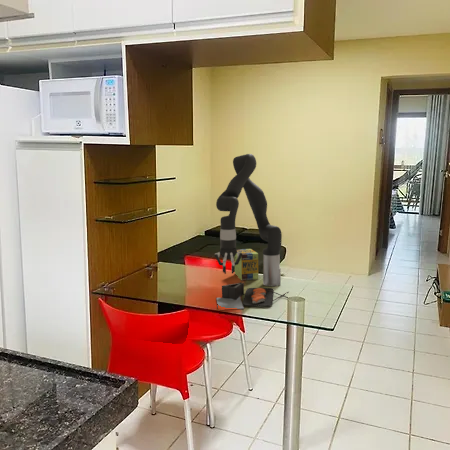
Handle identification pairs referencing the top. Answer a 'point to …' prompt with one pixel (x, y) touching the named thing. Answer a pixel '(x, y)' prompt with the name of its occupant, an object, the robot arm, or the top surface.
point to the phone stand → (233, 291)
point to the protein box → (247, 265)
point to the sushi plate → (259, 297)
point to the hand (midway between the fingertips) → (228, 273)
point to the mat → (230, 303)
